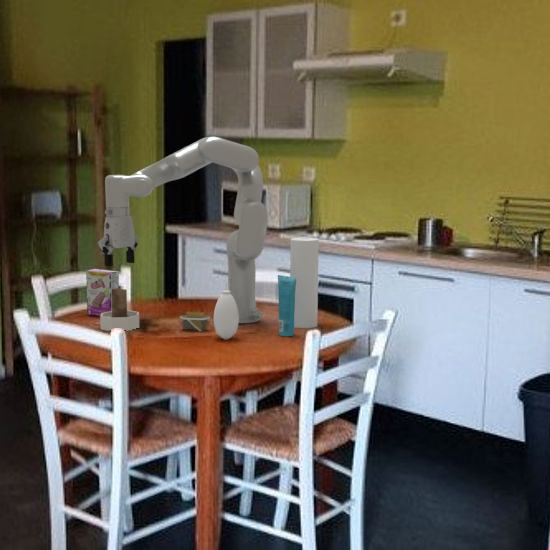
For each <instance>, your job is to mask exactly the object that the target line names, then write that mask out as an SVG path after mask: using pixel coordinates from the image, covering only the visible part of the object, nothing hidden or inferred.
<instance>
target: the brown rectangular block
mask: <svg viewBox="0 0 550 550" xmlns="http://www.w3.org/2000/svg"><path fill="white" fill-rule="evenodd" d="M127 295H128V293H127V289H124V288H119V289H118V288H116V289H112V317H127V310H128V296H127Z"/></svg>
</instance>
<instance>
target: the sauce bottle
mask: <svg viewBox="0 0 550 550" xmlns="http://www.w3.org/2000/svg"><path fill="white" fill-rule="evenodd" d="M239 324H240V323H239V314H238V308H237V305H236V302H235V300H234V298H233V296H232V295H231V294H230V291H229V290H228V282H225V289H224V290H222V291H221V294H220V296H219V297H218V299H217V302H216V304H215V307H214V310H213V327H214V329H215V332H216V334H217V336H219V337H220V338H221V339H222V340H230V339H231V338H232V337H233V336H235V334H236V332H237V330H238V328H239V327H238V326H239Z"/></svg>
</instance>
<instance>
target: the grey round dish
mask: <svg viewBox="0 0 550 550" xmlns="http://www.w3.org/2000/svg"><path fill="white" fill-rule="evenodd" d="M99 319H100V320H99V321H100V330H101V331H107V332H111V331H110V330H111V329H112V328H122V329H125V330H126V331H125V332H130V331H133V330H132V329H135V330H137V329H136V328H139V329H140V312H139V311H134V310H128V309H127V317H112V311H109V312H104V313H101V315H100V317H99ZM129 330H130V331H129Z"/></svg>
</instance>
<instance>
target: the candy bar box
mask: <svg viewBox="0 0 550 550" xmlns="http://www.w3.org/2000/svg"><path fill="white" fill-rule="evenodd" d="M85 273H86V275H85V276H86V279H85V280H86V307H87V309H86V310H87V316H91V317H92V316H93V317H99V318H100V315H101V313H104V312H109V311H112V289H116V288H118V289H120V286H119V285H120V283H119V282H120V281H119V280H120V279H119V278H120V276H119V273H120V272H119V271H117V270H110V269H109V270H107V269H100V268H99V269H98V268H93V269H88V270H86V271H85Z"/></svg>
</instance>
